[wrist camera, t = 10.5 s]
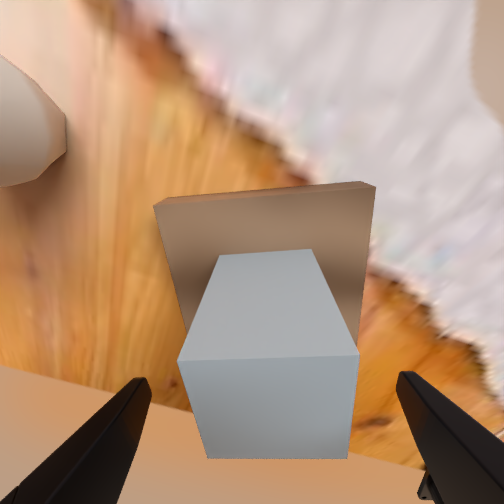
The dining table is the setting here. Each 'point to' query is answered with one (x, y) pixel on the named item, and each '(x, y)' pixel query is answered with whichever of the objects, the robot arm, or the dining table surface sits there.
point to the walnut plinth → (271, 236)
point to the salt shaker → (27, 127)
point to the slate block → (270, 361)
